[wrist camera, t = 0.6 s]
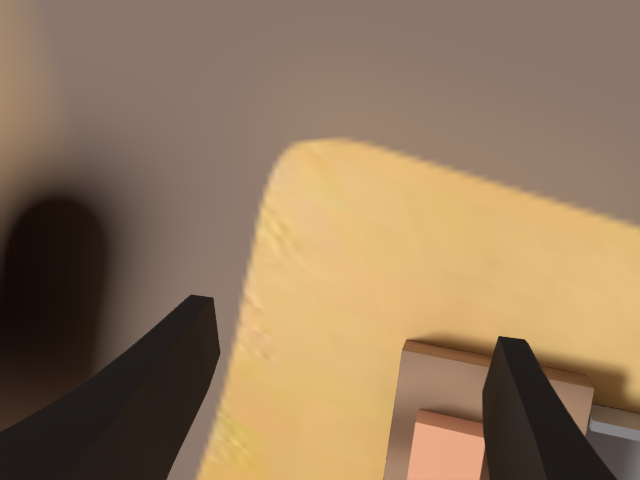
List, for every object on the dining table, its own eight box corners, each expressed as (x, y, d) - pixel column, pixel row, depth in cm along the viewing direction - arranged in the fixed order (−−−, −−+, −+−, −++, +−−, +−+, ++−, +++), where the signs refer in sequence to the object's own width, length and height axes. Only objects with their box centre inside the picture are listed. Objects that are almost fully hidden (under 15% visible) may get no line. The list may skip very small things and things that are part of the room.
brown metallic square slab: (553, 539, 34) (560, 566, 31) (383, 493, 36) (378, 514, 34) (584, 374, 32) (594, 388, 30) (406, 339, 35) (402, 350, 33)
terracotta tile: (474, 486, 32) (475, 504, 30) (409, 469, 33) (405, 486, 31) (484, 424, 32) (486, 438, 30) (418, 408, 33) (415, 422, 31)
